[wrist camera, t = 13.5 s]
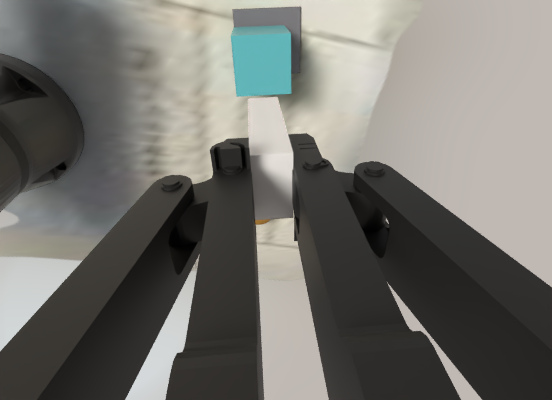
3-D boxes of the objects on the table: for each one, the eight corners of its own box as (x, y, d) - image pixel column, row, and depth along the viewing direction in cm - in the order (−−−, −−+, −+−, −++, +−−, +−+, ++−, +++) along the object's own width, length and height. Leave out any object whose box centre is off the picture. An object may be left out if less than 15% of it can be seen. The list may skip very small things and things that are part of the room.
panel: (238, 75, 38) (238, 75, 37) (232, 9, 34) (232, 9, 34) (299, 72, 38) (299, 72, 38) (300, 6, 34) (300, 6, 34)
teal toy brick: (238, 79, 37) (236, 96, 31) (233, 27, 34) (230, 35, 28) (284, 77, 37) (291, 93, 32) (284, 25, 34) (290, 33, 29)
